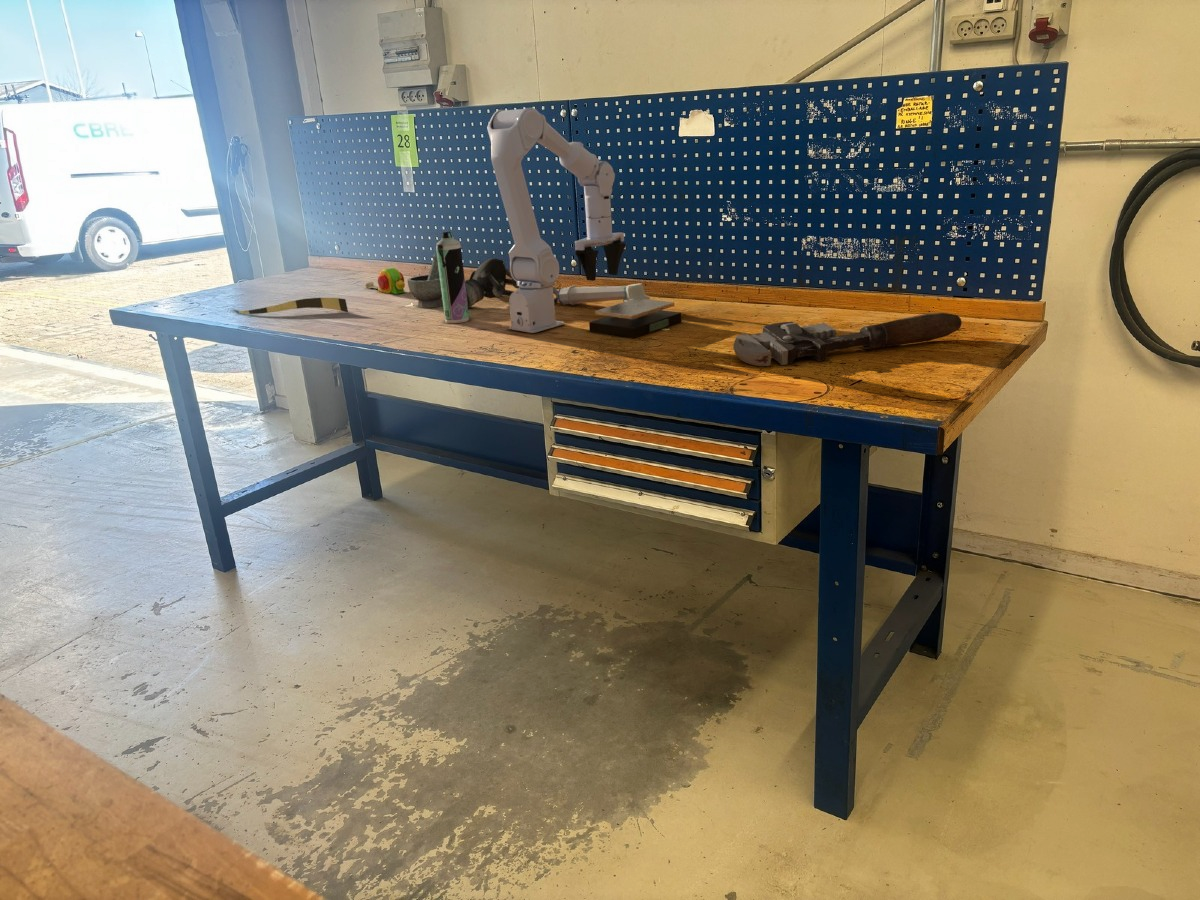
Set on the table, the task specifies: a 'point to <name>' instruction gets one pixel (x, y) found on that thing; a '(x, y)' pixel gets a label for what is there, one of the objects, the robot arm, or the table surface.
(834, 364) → the table surface
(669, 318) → the scale
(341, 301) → the tape
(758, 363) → the pipe wrench
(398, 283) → the toy measuring tape
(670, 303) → the pan
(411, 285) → the mortar and pestle
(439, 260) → the spray can
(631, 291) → the pale grey handled tool
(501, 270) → the respirator mask
